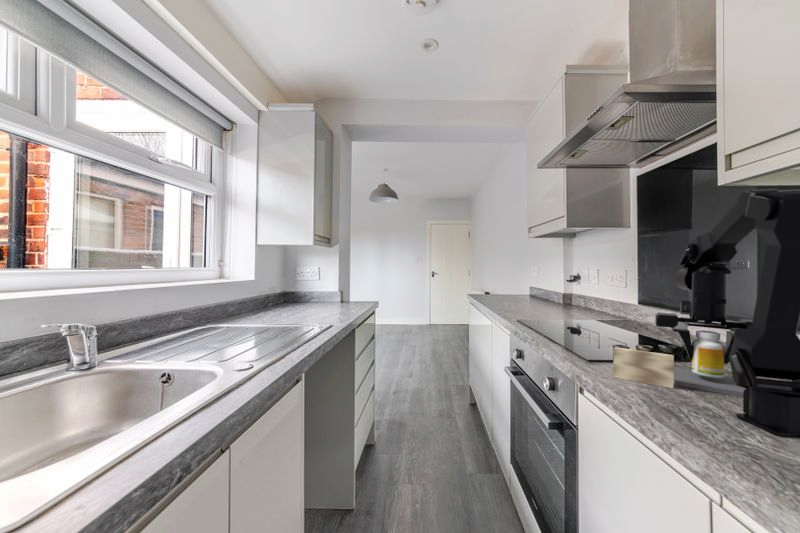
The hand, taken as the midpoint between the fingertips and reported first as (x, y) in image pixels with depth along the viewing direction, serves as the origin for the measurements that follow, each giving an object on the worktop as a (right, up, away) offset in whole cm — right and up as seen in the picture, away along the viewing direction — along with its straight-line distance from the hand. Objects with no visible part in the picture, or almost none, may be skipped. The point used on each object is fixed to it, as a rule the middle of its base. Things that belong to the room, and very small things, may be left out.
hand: (707, 361), depth 72 cm
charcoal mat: (0, -5, 0) cm, 5 cm away
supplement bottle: (0, -3, 0) cm, 3 cm away
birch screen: (-14, -5, +1) cm, 15 cm away
